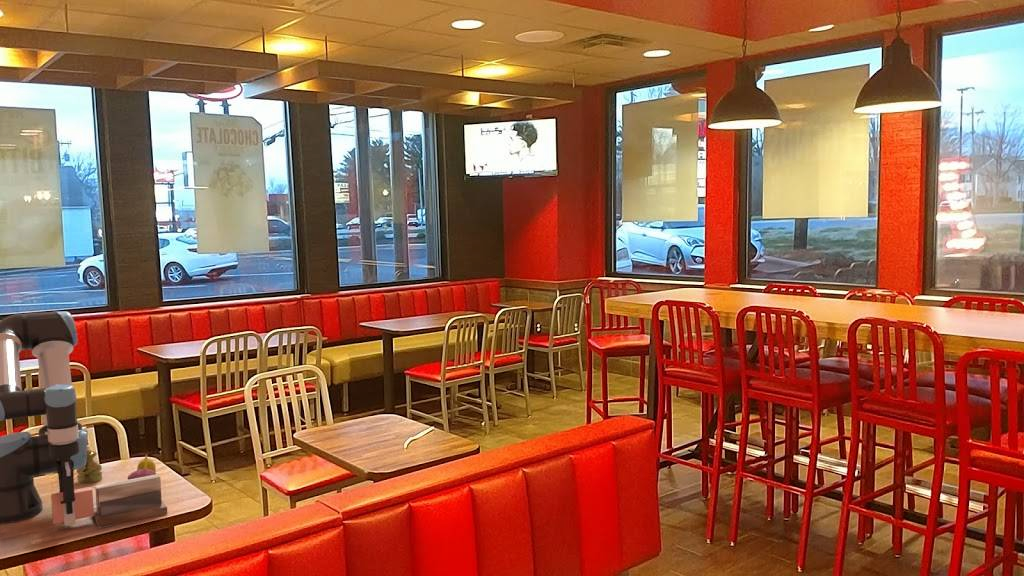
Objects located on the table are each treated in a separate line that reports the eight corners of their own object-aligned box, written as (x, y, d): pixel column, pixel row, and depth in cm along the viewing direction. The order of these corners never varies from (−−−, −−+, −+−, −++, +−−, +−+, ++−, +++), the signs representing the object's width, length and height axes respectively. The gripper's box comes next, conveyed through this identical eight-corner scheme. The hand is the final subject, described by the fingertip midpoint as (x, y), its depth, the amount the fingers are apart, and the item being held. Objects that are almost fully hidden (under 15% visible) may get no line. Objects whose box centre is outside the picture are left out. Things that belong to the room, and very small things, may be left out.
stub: (52, 520, 227) (50, 494, 226) (92, 512, 233) (90, 486, 232) (54, 524, 224) (52, 497, 224) (94, 515, 230) (92, 489, 229)
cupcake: (146, 485, 262) (144, 449, 260) (163, 489, 257) (161, 453, 256) (122, 493, 254) (120, 456, 253) (139, 498, 250) (136, 460, 249)
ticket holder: (92, 514, 237) (90, 481, 236) (158, 501, 247) (156, 469, 246) (99, 528, 227) (97, 493, 226) (167, 513, 238) (165, 480, 237)
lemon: (144, 478, 268) (142, 455, 267) (159, 479, 267) (158, 455, 266) (134, 484, 263) (132, 460, 262) (150, 485, 262) (148, 461, 261)
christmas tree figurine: (107, 477, 270) (105, 448, 268) (91, 484, 262) (89, 455, 261) (88, 475, 271) (86, 446, 270) (71, 483, 264) (69, 453, 263)
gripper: (44, 436, 230) (50, 516, 232) (51, 450, 217) (57, 534, 219) (74, 432, 234) (79, 510, 237) (83, 445, 221) (88, 527, 224)
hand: (68, 521), depth 228 cm, fingers closed on stub, 3 cm apart
